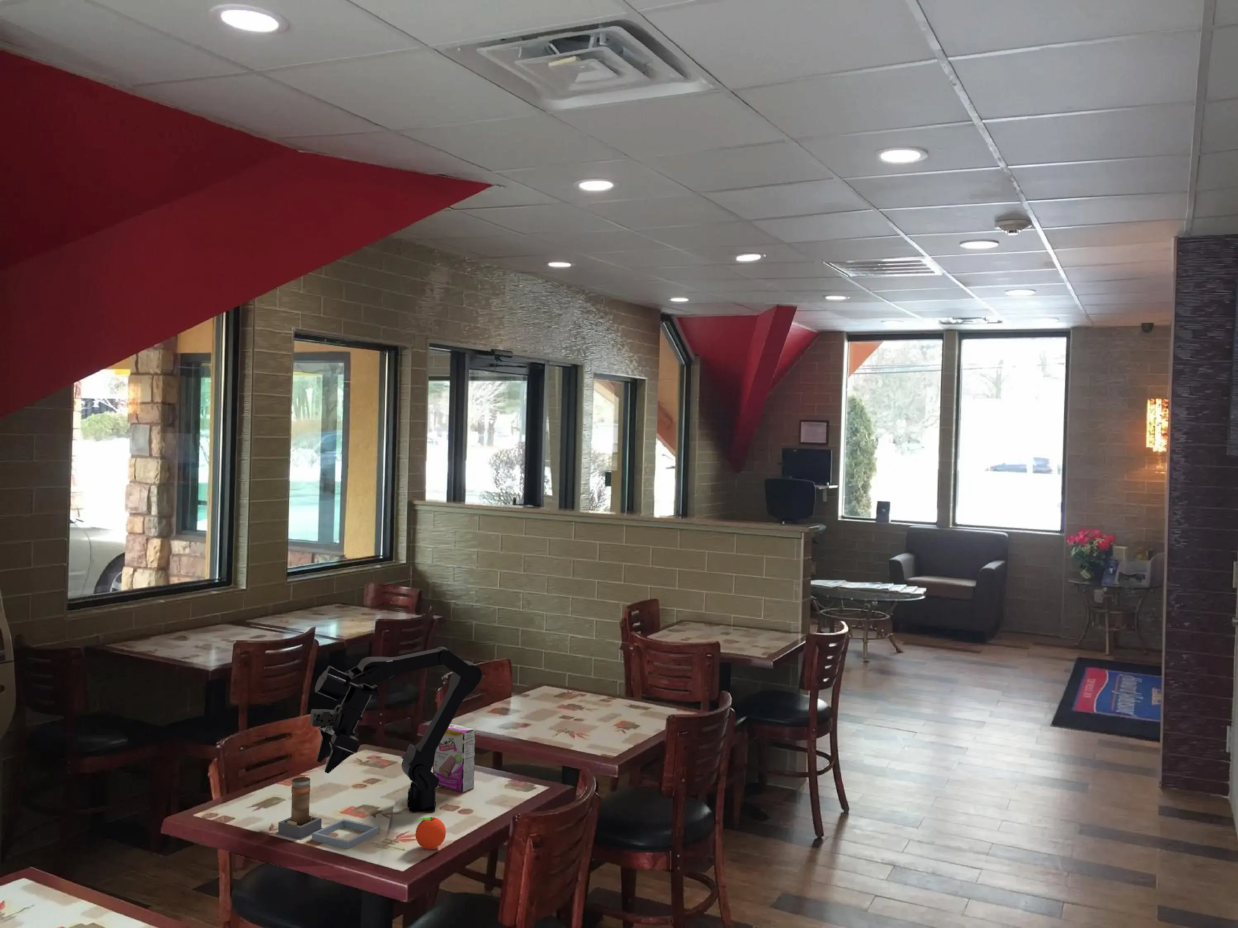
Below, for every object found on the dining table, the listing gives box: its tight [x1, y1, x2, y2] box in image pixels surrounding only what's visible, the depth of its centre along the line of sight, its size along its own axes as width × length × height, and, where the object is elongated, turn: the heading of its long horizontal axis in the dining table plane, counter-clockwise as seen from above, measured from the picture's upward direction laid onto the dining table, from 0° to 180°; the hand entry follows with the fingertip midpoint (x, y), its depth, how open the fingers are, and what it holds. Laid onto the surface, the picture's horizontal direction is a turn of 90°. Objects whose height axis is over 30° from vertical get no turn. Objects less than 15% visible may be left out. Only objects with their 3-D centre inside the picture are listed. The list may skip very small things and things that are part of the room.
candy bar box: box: [432, 722, 476, 793], centre depth 273 cm, size 11×5×16 cm, turn 58°
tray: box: [311, 818, 380, 850], centre depth 233 cm, size 11×11×3 cm
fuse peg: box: [290, 776, 311, 826], centre depth 235 cm, size 4×4×12 cm
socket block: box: [274, 813, 323, 841], centre depth 235 cm, size 8×8×4 cm
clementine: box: [414, 816, 447, 850], centre depth 231 cm, size 8×7×7 cm
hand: (322, 767), depth 245 cm, fingers open, 9 cm apart
